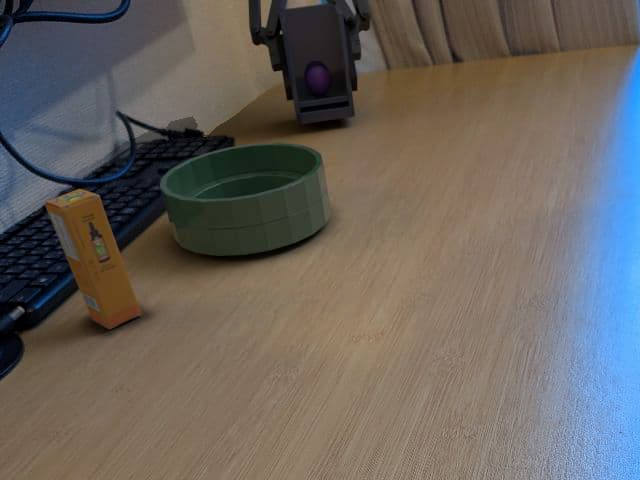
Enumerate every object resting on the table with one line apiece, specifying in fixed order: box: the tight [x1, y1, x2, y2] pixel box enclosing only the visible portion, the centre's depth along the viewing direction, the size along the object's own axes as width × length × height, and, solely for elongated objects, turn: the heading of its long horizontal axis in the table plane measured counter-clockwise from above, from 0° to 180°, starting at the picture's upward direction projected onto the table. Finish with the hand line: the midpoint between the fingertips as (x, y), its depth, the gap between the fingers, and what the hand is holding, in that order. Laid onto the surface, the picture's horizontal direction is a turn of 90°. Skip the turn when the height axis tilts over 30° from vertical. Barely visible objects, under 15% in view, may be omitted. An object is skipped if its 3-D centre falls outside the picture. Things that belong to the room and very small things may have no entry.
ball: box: [306, 66, 332, 96], centre depth 102 cm, size 3×3×3 cm
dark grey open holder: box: [278, 2, 356, 126], centre depth 100 cm, size 7×7×11 cm
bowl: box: [159, 142, 332, 257], centre depth 78 cm, size 15×15×6 cm
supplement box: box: [44, 188, 142, 330], centre depth 65 cm, size 3×3×10 cm
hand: (321, 88), depth 99 cm, fingers closed on dark grey open holder, 7 cm apart
